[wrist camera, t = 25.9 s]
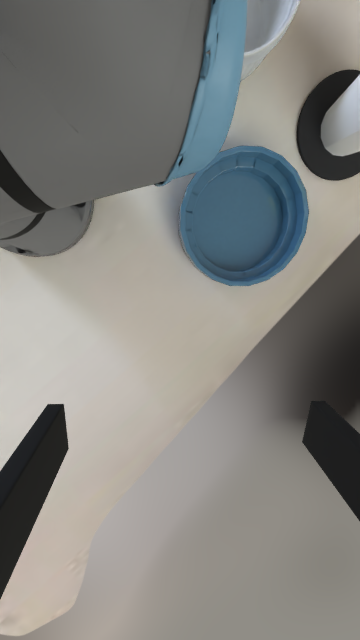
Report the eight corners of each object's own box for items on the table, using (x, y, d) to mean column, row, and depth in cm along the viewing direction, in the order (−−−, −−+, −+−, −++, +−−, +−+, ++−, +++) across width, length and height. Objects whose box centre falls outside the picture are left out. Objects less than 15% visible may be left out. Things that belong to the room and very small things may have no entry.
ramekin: (149, 79, 29) (145, 28, 22) (175, -71, 26) (180, -184, 19) (253, 115, 31) (279, 78, 24) (290, -21, 27) (332, -107, 21)
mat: (280, 112, 31) (282, 111, 31) (365, 48, 30) (368, 45, 29) (320, 199, 34) (322, 198, 34) (398, 144, 33) (401, 143, 33)
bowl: (154, 207, 33) (153, 202, 29) (257, 129, 31) (270, 113, 28) (218, 303, 37) (224, 309, 34) (311, 239, 36) (328, 238, 32)
